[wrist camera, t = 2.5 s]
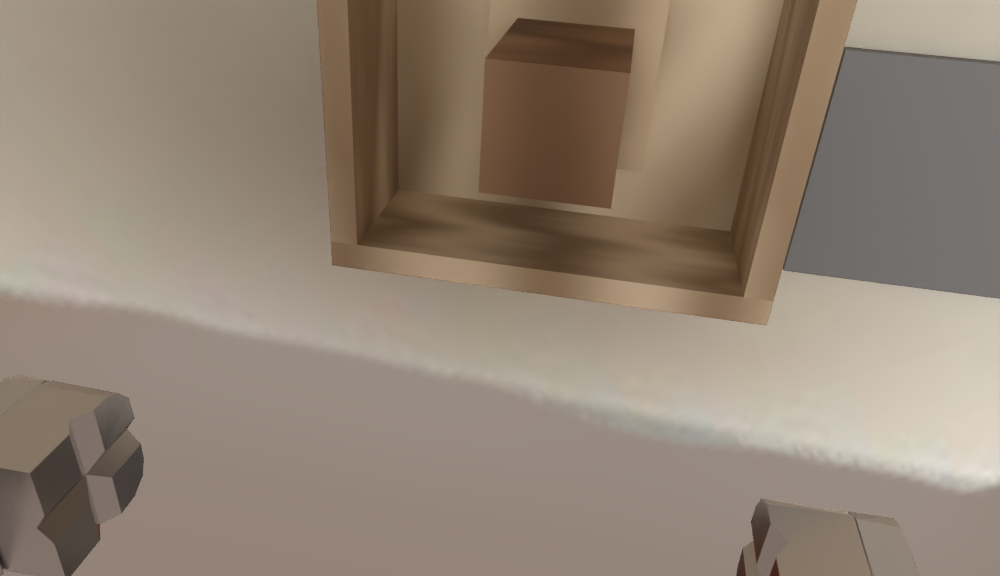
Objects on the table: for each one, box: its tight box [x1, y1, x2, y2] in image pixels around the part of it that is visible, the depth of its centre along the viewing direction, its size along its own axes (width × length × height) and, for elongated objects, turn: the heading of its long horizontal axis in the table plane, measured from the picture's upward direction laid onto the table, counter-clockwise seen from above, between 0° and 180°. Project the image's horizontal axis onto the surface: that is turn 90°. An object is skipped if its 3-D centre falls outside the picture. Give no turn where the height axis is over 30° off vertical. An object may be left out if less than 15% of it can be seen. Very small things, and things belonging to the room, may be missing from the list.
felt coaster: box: [783, 47, 1000, 299], centre depth 29 cm, size 9×9×1 cm
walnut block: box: [479, 18, 635, 209], centre depth 24 cm, size 4×4×6 cm
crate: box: [317, 0, 857, 325], centre depth 27 cm, size 16×14×6 cm
